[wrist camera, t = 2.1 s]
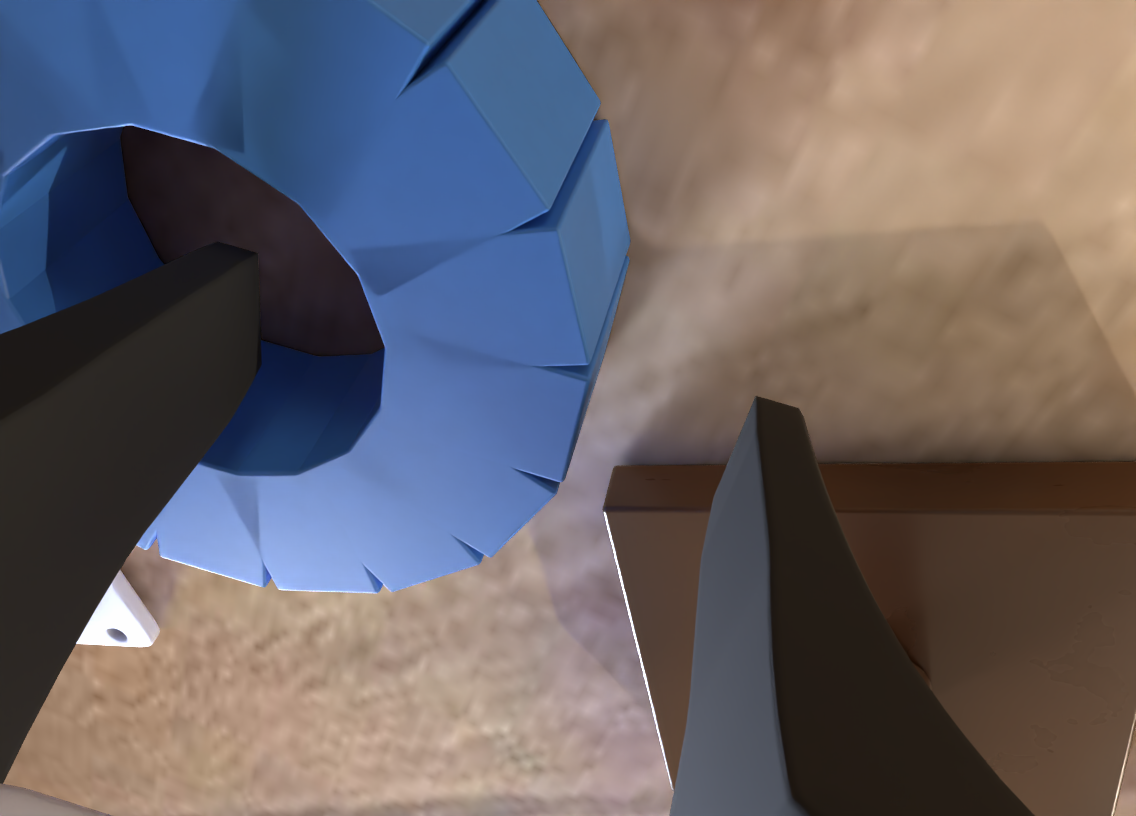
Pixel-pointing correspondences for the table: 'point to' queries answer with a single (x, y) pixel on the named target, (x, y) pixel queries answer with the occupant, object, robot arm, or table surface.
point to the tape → (363, 238)
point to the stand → (940, 603)
